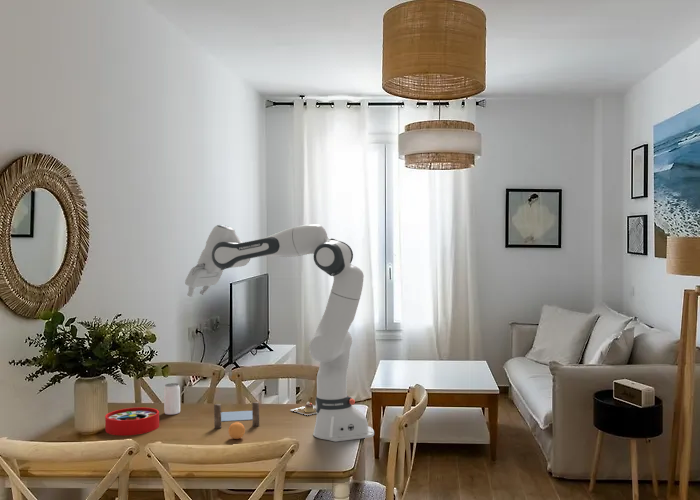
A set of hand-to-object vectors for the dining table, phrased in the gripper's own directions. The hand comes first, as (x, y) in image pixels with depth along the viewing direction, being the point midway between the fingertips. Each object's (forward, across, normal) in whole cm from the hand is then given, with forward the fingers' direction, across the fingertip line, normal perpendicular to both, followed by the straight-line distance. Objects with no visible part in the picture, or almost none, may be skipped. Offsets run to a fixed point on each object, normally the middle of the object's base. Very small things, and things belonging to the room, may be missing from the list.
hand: (196, 295), depth 267 cm
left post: (+42, -1, -31) cm, 52 cm away
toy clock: (+57, -9, -2) cm, 58 cm away
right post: (+36, +5, -43) cm, 56 cm away
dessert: (+31, +32, -54) cm, 70 cm away
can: (+55, +14, -5) cm, 57 cm away
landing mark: (+42, +16, -31) cm, 54 cm away
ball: (+33, -12, -42) cm, 55 cm away
